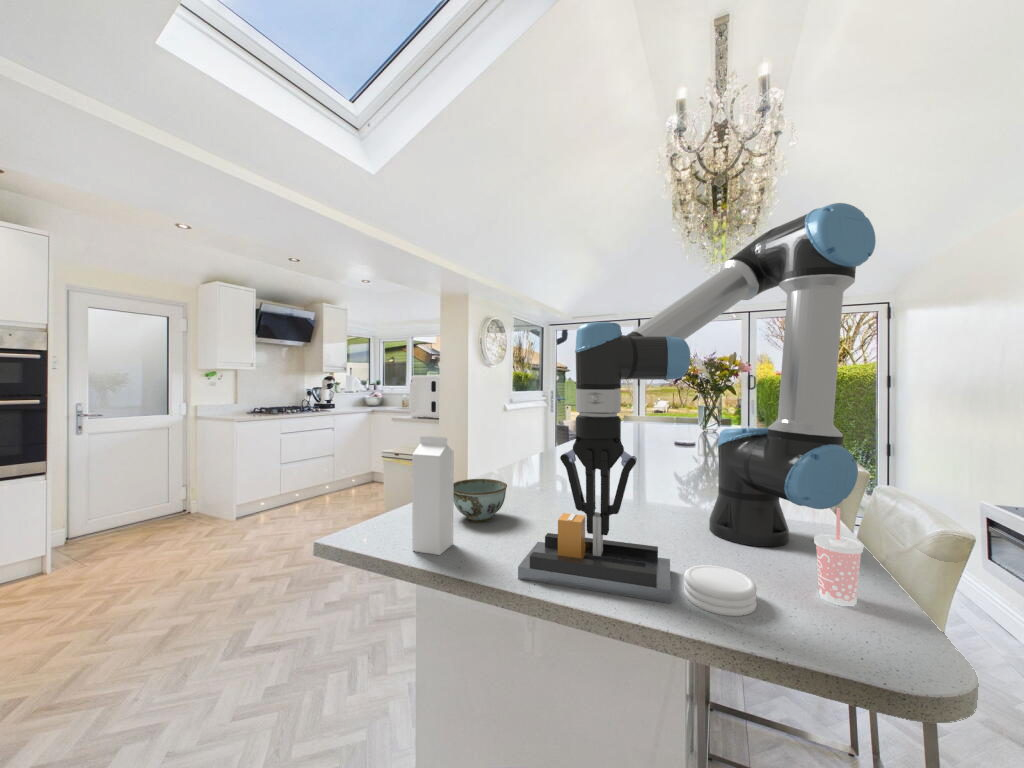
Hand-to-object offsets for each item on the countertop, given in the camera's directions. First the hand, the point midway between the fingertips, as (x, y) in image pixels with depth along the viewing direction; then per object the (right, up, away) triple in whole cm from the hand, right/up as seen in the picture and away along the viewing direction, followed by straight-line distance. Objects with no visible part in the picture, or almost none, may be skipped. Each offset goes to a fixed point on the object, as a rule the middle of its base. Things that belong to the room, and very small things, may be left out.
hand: (597, 552), depth 75 cm
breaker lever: (-4, -2, +2) cm, 5 cm away
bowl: (-23, -4, +30) cm, 38 cm away
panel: (0, -4, 0) cm, 4 cm away
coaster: (+17, -5, -8) cm, 19 cm away
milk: (-30, -4, +12) cm, 33 cm away
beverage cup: (+35, -4, -8) cm, 36 cm away
